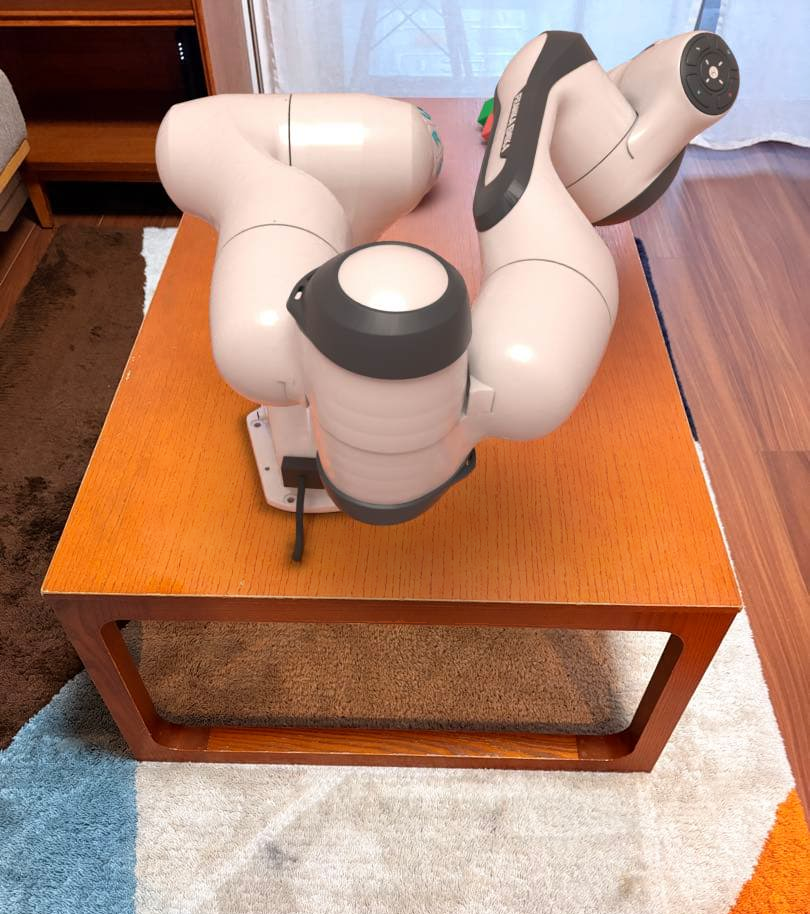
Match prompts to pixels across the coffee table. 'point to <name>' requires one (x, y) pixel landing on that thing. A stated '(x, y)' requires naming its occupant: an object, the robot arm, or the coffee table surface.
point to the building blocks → (486, 118)
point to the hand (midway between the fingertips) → (560, 143)
